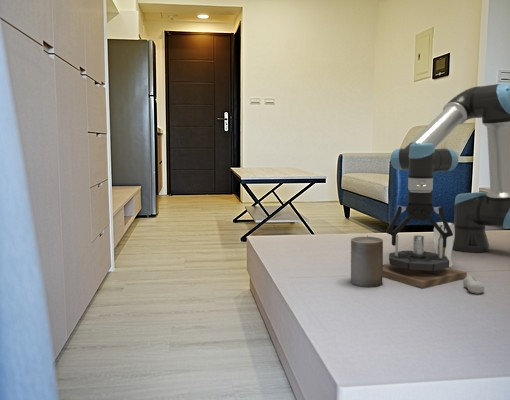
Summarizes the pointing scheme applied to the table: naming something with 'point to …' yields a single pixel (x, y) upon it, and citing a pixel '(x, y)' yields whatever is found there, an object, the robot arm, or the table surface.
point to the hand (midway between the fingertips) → (418, 256)
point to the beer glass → (449, 241)
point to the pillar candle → (366, 261)
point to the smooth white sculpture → (473, 284)
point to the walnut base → (422, 276)
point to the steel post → (418, 247)
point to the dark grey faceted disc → (418, 261)
